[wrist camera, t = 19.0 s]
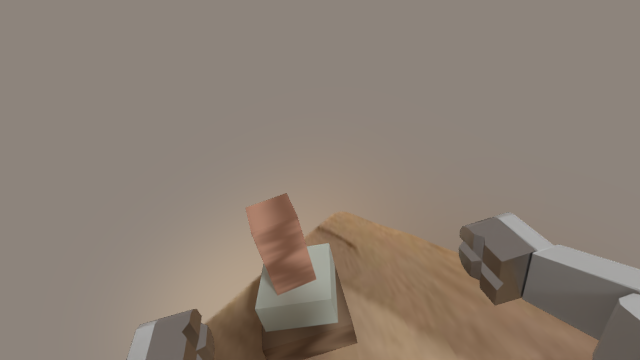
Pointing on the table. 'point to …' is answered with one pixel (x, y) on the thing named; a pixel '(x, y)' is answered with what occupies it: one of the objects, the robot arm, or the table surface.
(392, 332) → the table surface
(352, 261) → the table surface
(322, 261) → the sage top block
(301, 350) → the walnut base block
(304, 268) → the terracotta tall block
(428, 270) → the table surface
